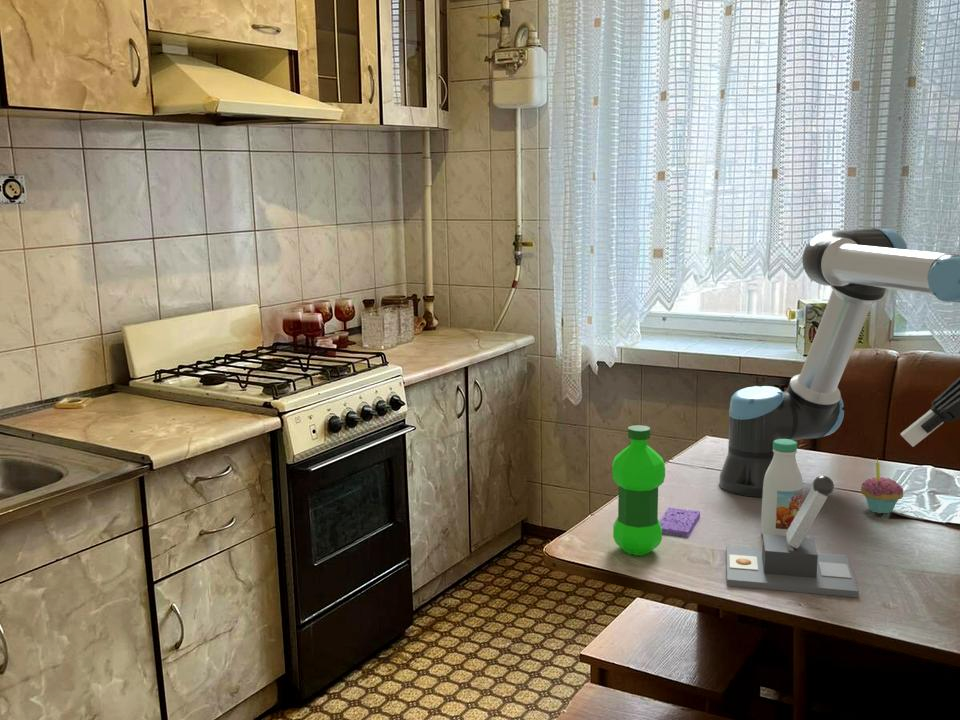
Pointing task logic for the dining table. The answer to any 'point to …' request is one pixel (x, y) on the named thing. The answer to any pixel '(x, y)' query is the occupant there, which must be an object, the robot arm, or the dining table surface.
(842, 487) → the dining table surface
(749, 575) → the switch board
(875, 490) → the cupcake
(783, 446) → the milk bottle
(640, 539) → the plastic bottle
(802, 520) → the toggle lever
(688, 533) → the sponges
